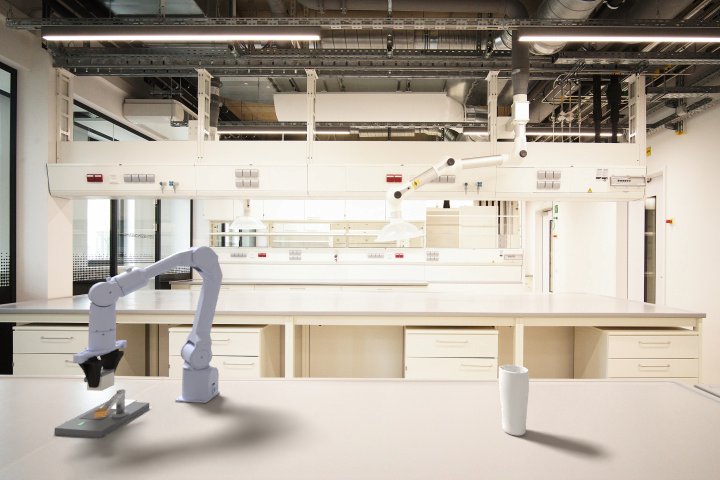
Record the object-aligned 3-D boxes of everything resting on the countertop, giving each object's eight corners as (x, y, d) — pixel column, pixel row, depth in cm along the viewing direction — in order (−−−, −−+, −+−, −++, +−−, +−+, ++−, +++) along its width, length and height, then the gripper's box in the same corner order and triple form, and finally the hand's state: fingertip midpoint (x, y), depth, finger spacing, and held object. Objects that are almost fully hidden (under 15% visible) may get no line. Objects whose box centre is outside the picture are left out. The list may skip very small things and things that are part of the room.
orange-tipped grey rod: (117, 411, 93) (117, 389, 94) (126, 410, 94) (126, 388, 94) (93, 437, 80) (94, 412, 81) (104, 436, 81) (105, 411, 81)
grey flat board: (151, 406, 101) (151, 399, 101) (101, 437, 85) (101, 428, 85) (111, 404, 103) (111, 396, 103) (54, 434, 86) (54, 425, 86)
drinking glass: (527, 427, 91) (527, 365, 92) (530, 440, 85) (530, 374, 85) (498, 422, 93) (498, 363, 94) (499, 435, 87) (499, 371, 88)
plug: (114, 384, 95) (114, 369, 95) (101, 390, 91) (101, 374, 92) (93, 384, 96) (93, 368, 96) (79, 389, 92) (79, 373, 92)
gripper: (110, 323, 102) (109, 373, 101) (62, 335, 87) (60, 394, 87) (134, 324, 101) (133, 374, 100) (89, 336, 86) (87, 395, 86)
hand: (101, 383), depth 94 cm, fingers closed on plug, 4 cm apart
